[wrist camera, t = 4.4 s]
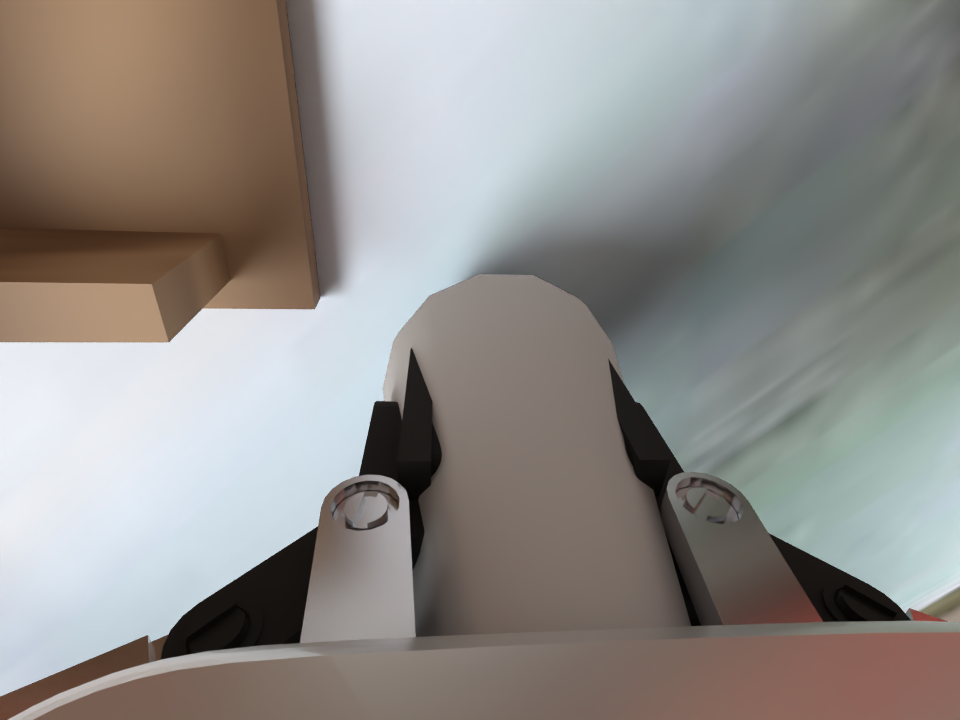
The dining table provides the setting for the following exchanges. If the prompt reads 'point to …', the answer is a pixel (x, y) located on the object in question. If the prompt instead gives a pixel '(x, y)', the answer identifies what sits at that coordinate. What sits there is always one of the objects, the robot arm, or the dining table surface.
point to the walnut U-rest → (148, 167)
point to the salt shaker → (528, 470)
